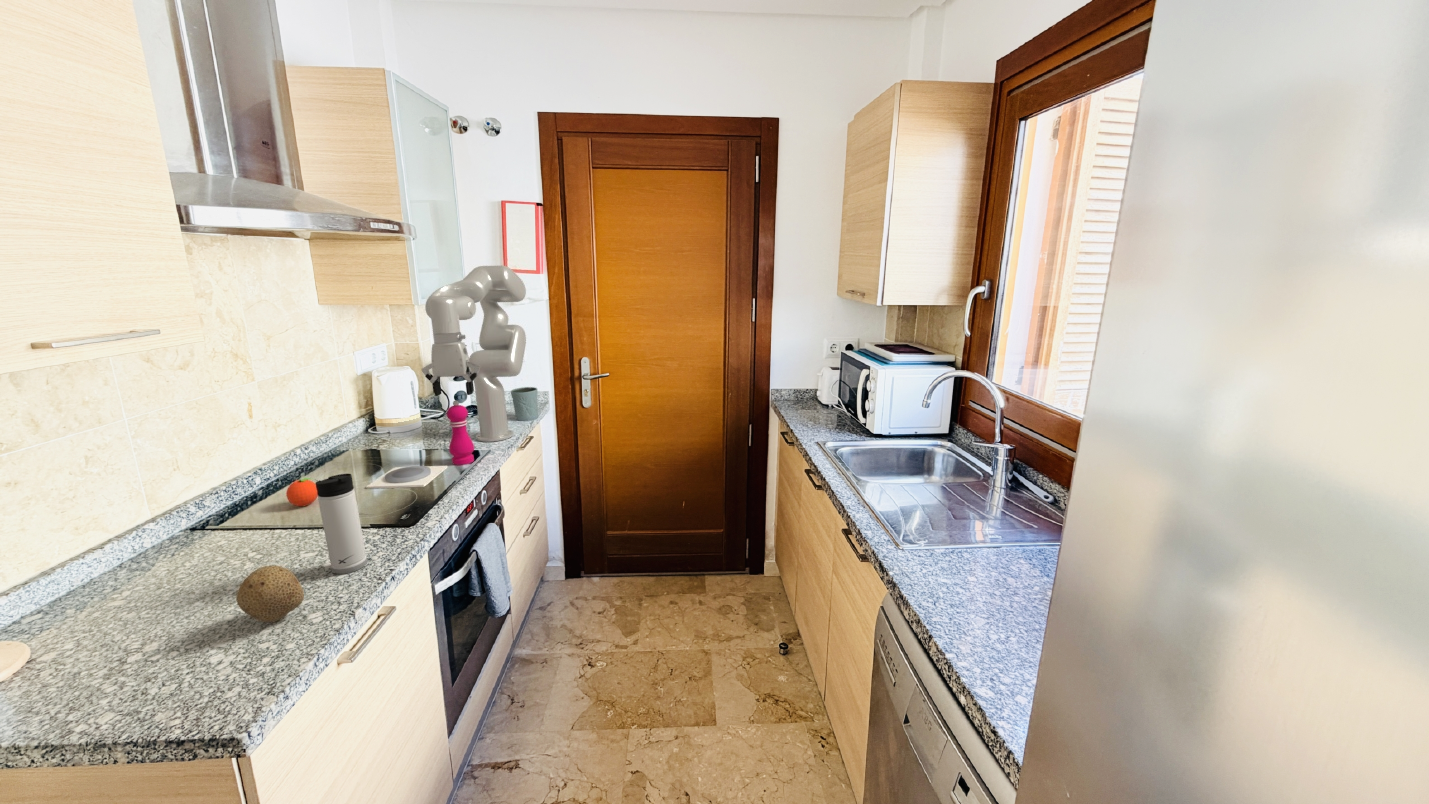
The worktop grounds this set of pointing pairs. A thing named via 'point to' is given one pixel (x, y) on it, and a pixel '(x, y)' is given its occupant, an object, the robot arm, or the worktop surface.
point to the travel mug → (341, 523)
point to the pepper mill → (460, 435)
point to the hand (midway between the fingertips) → (454, 394)
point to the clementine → (302, 492)
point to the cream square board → (407, 477)
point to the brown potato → (270, 593)
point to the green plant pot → (525, 403)
